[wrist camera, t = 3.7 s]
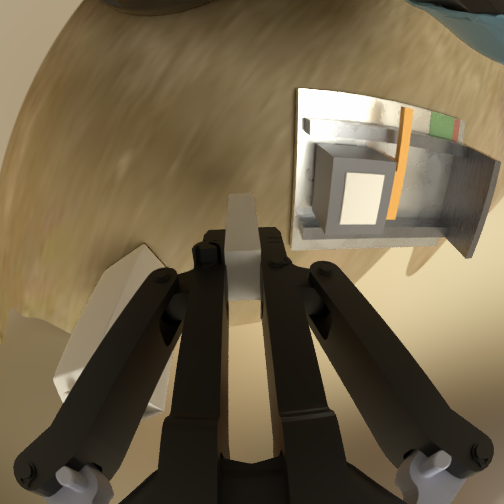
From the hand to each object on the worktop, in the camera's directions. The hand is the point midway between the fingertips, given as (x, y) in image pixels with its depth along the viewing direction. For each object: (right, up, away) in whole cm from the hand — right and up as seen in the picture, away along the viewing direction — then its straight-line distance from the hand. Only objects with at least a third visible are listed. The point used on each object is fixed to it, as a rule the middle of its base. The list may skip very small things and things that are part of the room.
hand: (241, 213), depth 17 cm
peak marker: (+12, +6, +4) cm, 14 cm away
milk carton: (-12, -5, +12) cm, 18 cm away
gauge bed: (+13, +5, +6) cm, 16 cm away
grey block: (+8, +4, +5) cm, 10 cm away
